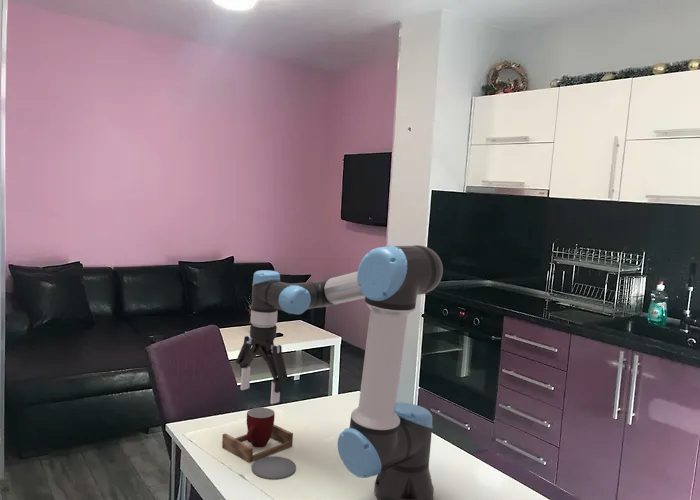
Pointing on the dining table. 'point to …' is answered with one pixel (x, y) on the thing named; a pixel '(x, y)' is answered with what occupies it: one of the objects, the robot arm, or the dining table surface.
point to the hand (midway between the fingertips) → (259, 395)
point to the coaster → (273, 467)
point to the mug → (259, 426)
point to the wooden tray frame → (246, 451)
